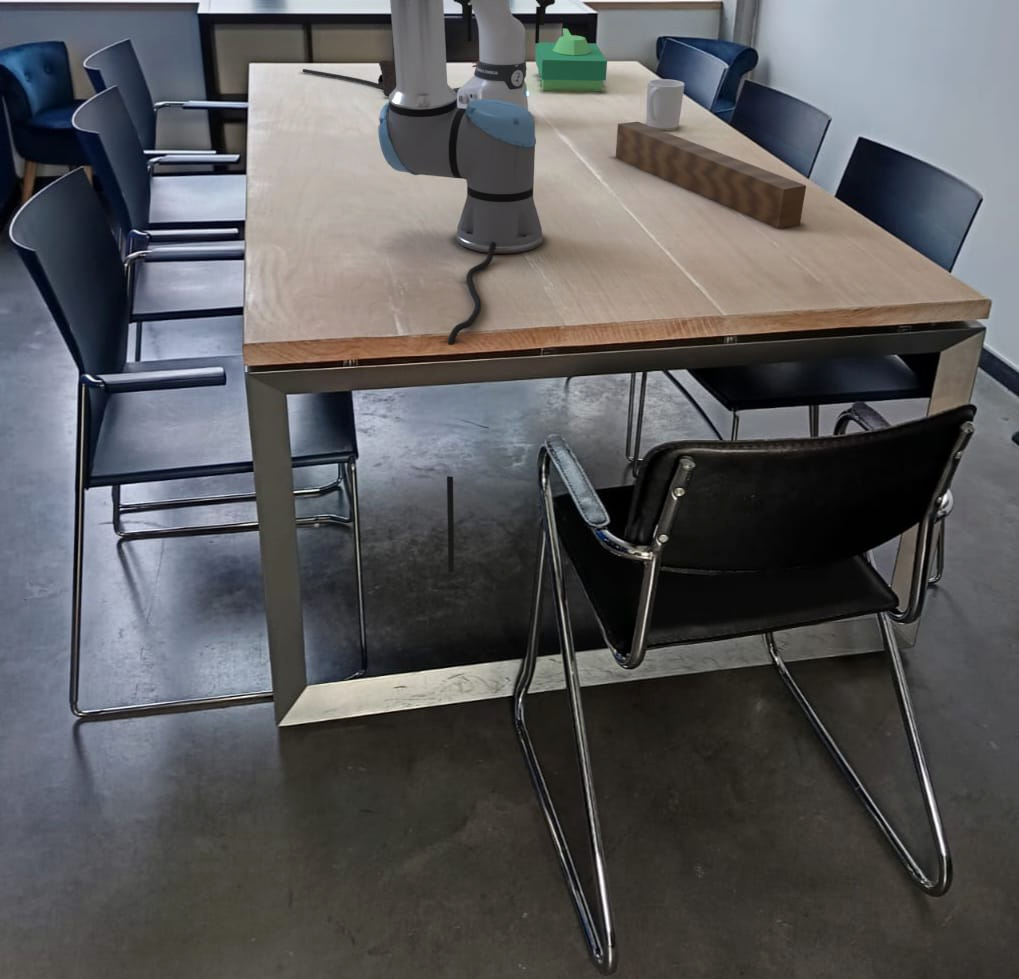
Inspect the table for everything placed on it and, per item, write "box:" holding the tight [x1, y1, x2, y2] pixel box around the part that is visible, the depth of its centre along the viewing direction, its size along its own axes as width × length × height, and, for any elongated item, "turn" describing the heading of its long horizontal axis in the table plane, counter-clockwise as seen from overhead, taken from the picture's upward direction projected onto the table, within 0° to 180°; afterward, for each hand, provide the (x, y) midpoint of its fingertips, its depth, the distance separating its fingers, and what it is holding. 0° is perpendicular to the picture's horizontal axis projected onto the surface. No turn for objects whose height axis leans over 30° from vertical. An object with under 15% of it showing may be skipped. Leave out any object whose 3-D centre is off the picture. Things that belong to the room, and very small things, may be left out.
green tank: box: [534, 28, 608, 92], centre depth 314 cm, size 18×12×35 cm
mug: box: [645, 78, 685, 131], centre depth 268 cm, size 11×9×10 cm
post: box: [615, 121, 807, 229], centre depth 224 cm, size 55×5×8 cm, turn 29°
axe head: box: [377, 59, 397, 98], centre depth 299 cm, size 18×8×15 cm
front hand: (503, 41), depth 222 cm, fingers open, 13 cm apart
